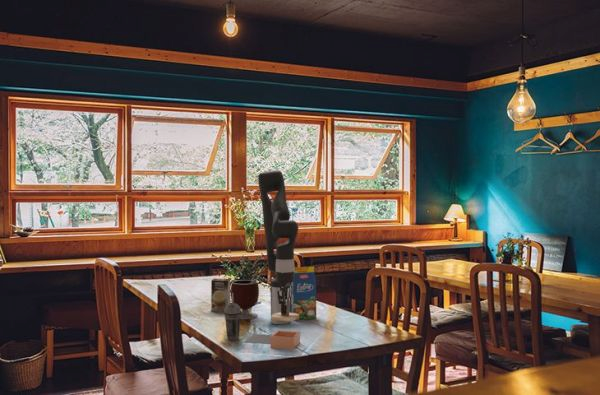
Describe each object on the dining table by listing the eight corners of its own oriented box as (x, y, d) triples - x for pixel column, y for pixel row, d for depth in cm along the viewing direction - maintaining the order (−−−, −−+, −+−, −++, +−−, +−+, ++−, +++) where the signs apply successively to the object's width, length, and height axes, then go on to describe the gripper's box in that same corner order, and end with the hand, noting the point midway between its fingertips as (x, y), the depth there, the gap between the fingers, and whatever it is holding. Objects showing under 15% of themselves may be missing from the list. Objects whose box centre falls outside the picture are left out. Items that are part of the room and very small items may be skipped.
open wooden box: (277, 342, 245) (277, 330, 245) (300, 344, 242) (300, 331, 242) (270, 348, 236) (270, 336, 235) (293, 350, 233) (293, 337, 233)
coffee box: (210, 311, 306) (210, 280, 306) (213, 308, 313) (213, 278, 313) (228, 311, 306) (227, 280, 305) (230, 309, 312) (230, 278, 312)
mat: (254, 335, 257) (254, 333, 257) (285, 337, 254) (285, 335, 254) (243, 343, 244) (243, 342, 244) (275, 345, 240) (275, 344, 240)
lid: (275, 314, 245) (275, 297, 245) (301, 316, 243) (301, 298, 243) (267, 320, 235) (267, 302, 235) (294, 321, 232) (294, 303, 232)
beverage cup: (242, 337, 253) (242, 290, 252) (241, 342, 245) (240, 294, 245) (225, 338, 252) (224, 291, 252) (223, 342, 245) (223, 294, 245)
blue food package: (316, 318, 289) (316, 267, 289) (293, 320, 285) (293, 268, 284) (311, 316, 295) (311, 265, 294) (288, 318, 291) (288, 267, 290)
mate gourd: (225, 317, 292) (225, 277, 291) (240, 312, 304) (240, 273, 303) (252, 321, 284) (251, 279, 284) (267, 315, 297) (266, 275, 296)
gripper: (281, 267, 246) (281, 309, 246) (270, 272, 233) (270, 316, 233) (298, 268, 244) (298, 310, 245) (289, 273, 231) (289, 317, 231)
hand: (285, 312), depth 239 cm, fingers closed on lid, 3 cm apart
